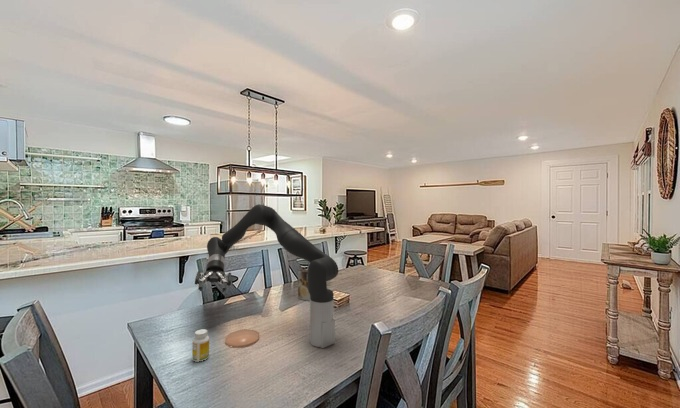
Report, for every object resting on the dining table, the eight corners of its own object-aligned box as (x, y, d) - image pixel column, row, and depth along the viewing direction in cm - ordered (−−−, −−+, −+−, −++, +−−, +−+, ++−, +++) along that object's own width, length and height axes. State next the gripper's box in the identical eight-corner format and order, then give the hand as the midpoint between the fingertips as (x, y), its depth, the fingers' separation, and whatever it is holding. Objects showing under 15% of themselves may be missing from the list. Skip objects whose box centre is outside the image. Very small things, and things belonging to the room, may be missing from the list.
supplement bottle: (189, 362, 103) (189, 335, 103) (195, 354, 109) (195, 328, 108) (206, 362, 104) (206, 334, 104) (211, 354, 109) (211, 328, 109)
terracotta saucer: (265, 340, 120) (265, 337, 120) (232, 351, 111) (232, 348, 111) (250, 329, 130) (250, 326, 130) (220, 338, 121) (220, 335, 121)
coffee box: (317, 298, 170) (317, 270, 170) (311, 301, 164) (311, 272, 164) (303, 295, 174) (304, 268, 174) (297, 298, 169) (297, 270, 168)
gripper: (199, 258, 133) (194, 281, 119) (233, 260, 138) (231, 283, 124) (197, 271, 135) (192, 296, 121) (230, 273, 140) (229, 297, 126)
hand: (212, 289), depth 123 cm, fingers open, 8 cm apart
